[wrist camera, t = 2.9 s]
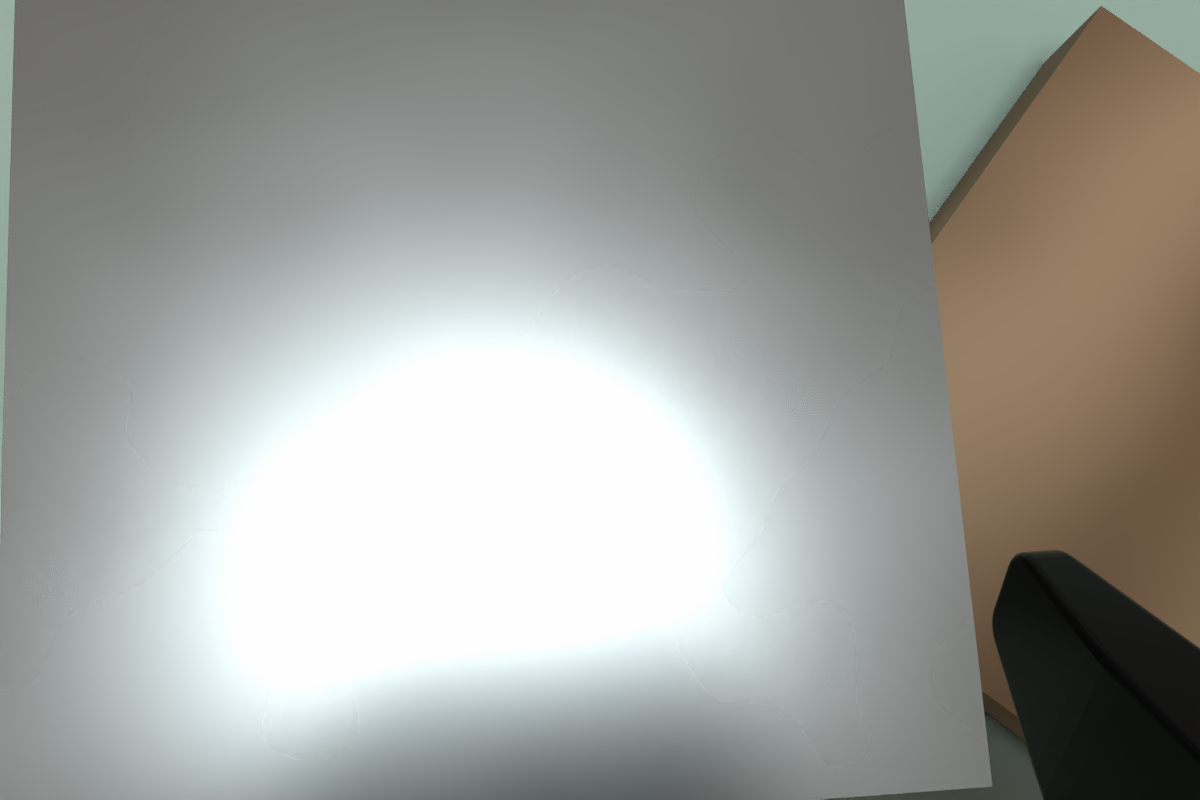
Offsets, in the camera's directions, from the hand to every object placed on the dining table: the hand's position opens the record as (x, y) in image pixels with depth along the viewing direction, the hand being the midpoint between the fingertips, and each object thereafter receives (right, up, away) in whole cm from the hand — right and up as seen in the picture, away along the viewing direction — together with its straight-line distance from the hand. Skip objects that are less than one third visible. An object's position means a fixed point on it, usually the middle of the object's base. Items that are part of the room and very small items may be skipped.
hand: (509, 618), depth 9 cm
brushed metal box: (0, 0, +9) cm, 9 cm away
